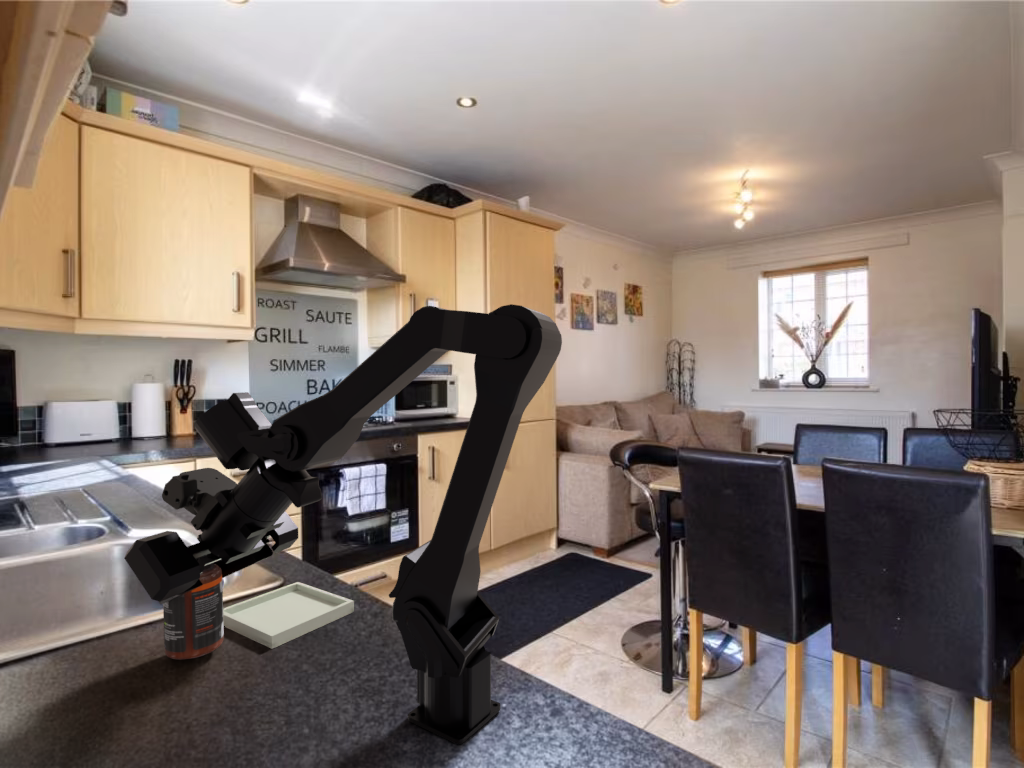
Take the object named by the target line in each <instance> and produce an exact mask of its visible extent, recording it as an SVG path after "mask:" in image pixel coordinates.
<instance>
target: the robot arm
mask: <svg viewBox="0 0 1024 768" xmlns="http://www.w3.org/2000/svg"><path fill="white" fill-rule="evenodd" d="M562 343H563V338H562V334H561V332H560V330H559V327H558V325H557V323H556V322H555V321H554V320H553V319H552V318H551V316H548V315H547V314H545V313H543V312H540V311H537V310H536V309H531V308H529V307H526V306H523V305H518V304H505V305H502V306H499V307H498V308H496V309H494V310H493V311H490V312H488V313H484V312H478V311H477V312H476V311H475V312H474V311H468V310H467V311H466V310H454V309H446V308H441V307H438V306H435V305H433V306H432V305H427V306H423V307H420V308H419V309H417V310H416V311H414V313H412V314H411V316H410V318H409V320H408V321H407V322H406V323H405V324H404V325H403V326H402V327H401V328H400V329H399V330H397V331H396V332H395V333H394V334H393V335H392V336H391V337H389V338H388V339H387V340H386V341H385V342H384V343H383V344H382V345H381V346H380V347H378V348H377V349H376V350H375V351H374V352H373V353H372V354H370V355H369V356H368V357H367V358H366V359H365V360H363V362H361V363H360V364H359V365H358V366H357V367H356V368H355V369H354V370H352V371H351V372H350V373H349V374H348V375H347V376H346V377H344V378H343V379H342V380H341V381H340V382H339V383H338V384H337V385H336V386H335V387H333V388H332V389H330V390H329V391H328V392H326V393H324V394H322V395H320V396H318V397H316V398H312V399H311V400H308V401H306V402H304V403H301V404H299V405H297V406H296V407H294V408H292V409H290V410H289V411H288V412H286V413H284V414H283V415H281V416H279V417H278V418H276V419H274V421H273V423H271V422H270V421H269V420H270V419H268V418H267V417H266V416H265V414H264V413H263V412H262V410H261V409H260V408H259V406H258V405H257V403H256V401H255V400H254V398H253V397H252V395H251V394H250V393H249V392H245V391H244V392H232V393H231V395H230V396H229V397H228V399H226V400H223V401H221V402H217V403H216V404H215V405H213V406H212V407H210V408H208V409H207V410H206V411H204V412H202V413H200V414H199V415H198V417H197V418H196V421H195V422H194V429H195V430H196V431H195V432H197V433H198V435H200V437H201V439H202V440H203V442H205V444H206V445H207V447H208V448H209V449H210V450H211V452H212V453H213V454H214V455H215V457H216V458H217V460H218V462H220V464H221V465H222V466H223V467H224V468H225V470H235V469H237V470H239V471H242V472H243V471H246V470H247V471H246V473H245V474H244V475H243V477H242V478H241V479H240V480H239V482H238V483H237V482H236V481H234V480H233V479H231V478H230V477H228V475H225V474H223V473H222V472H221V471H220V470H217V469H216V468H211V467H203V468H199V469H193V470H188V471H184V472H180V473H179V475H174V476H172V477H171V479H170V480H168V482H167V483H166V482H165V484H164V487H163V491H162V493H161V498H162V500H163V502H164V503H166V504H167V505H169V506H170V507H172V508H173V509H174V510H181V509H185V510H186V511H187V512H189V513H191V514H192V515H194V517H193V518H192V519H191V520H190V524H191V525H192V527H193V528H194V529H195V530H196V531H201V532H202V533H199V534H198V535H197V536H196V540H197V541H198V542H197V543H194V544H192V545H188V546H187V544H185V542H184V541H183V539H182V538H181V536H180V535H179V533H178V532H177V531H170V530H169V531H168V530H166V531H162V532H159V533H155V534H152V535H149V536H145V537H143V538H139V539H136V540H135V541H134V542H133V543H132V545H131V546H130V547H129V548H128V550H127V551H126V554H125V556H124V559H123V560H125V562H126V563H127V565H128V566H129V568H130V569H131V570H132V572H133V573H134V575H135V577H136V578H137V579H138V581H139V582H140V584H141V585H142V587H143V588H144V590H145V592H146V593H147V595H148V596H149V597H150V599H151V601H157V602H158V603H159V604H160V605H163V603H166V602H168V601H170V600H172V599H174V598H176V597H179V596H181V595H183V594H185V593H187V592H189V591H191V590H194V589H196V588H198V587H200V586H202V585H203V584H202V582H201V581H200V580H199V579H200V574H201V573H202V572H203V571H204V569H205V567H204V566H205V565H208V564H211V563H214V564H216V565H218V566H219V567H220V568H221V570H222V579H223V578H227V576H231V575H233V574H235V573H238V572H239V571H242V570H244V569H246V568H249V567H251V566H252V565H255V564H257V563H259V562H262V561H264V560H266V559H269V558H271V557H272V556H273V553H274V554H278V553H279V552H282V551H285V550H287V549H290V548H291V547H292V546H293V545H294V544H295V542H296V541H297V540H298V539H299V526H298V525H297V524H296V523H295V522H294V521H293V519H292V517H291V516H290V515H289V514H288V512H287V510H288V509H289V508H290V506H291V505H292V504H293V505H294V507H295V508H297V509H298V508H302V507H305V506H308V505H311V504H314V503H316V502H319V501H321V500H322V499H323V498H322V497H323V496H322V489H321V488H320V485H319V481H320V478H319V477H318V476H311V475H310V474H309V472H308V471H307V470H308V469H311V468H316V467H319V466H324V465H328V464H332V463H336V462H337V461H339V460H342V458H343V457H344V456H345V455H346V454H347V452H348V451H349V450H350V449H351V447H352V446H353V445H354V444H355V443H356V441H358V439H359V438H360V435H361V433H362V431H363V427H364V425H365V424H366V423H367V422H368V421H369V419H370V418H371V416H373V415H374V414H375V413H376V412H378V411H379V410H380V409H381V408H383V407H384V406H385V405H386V404H387V403H388V402H389V401H390V400H392V399H393V398H394V397H396V395H398V394H399V393H400V392H401V391H402V390H403V389H405V388H406V387H407V386H408V385H409V384H411V383H412V382H413V381H414V380H415V379H416V378H418V377H419V376H420V375H421V374H422V373H424V372H425V371H426V370H427V369H428V368H430V367H431V366H432V365H433V364H434V363H435V362H437V361H438V360H439V359H440V358H441V357H443V356H444V355H445V354H446V353H448V352H449V351H452V352H457V353H464V354H470V355H475V357H474V363H473V369H474V382H475V393H476V397H475V403H474V405H473V409H472V411H471V415H470V418H469V421H468V424H467V427H466V430H465V434H464V437H463V441H462V443H461V446H460V449H459V453H458V456H457V459H456V462H455V465H454V469H453V471H452V474H451V477H450V481H449V484H448V486H447V489H446V493H445V496H444V500H443V502H442V505H441V508H440V511H439V515H438V519H437V521H436V524H435V527H434V530H433V534H432V537H431V539H430V540H428V541H427V542H425V543H424V544H422V545H420V546H419V547H417V548H415V549H414V550H412V551H410V552H408V553H407V554H405V555H403V556H402V558H401V561H400V564H399V568H398V573H397V580H396V584H395V585H394V587H393V589H392V590H391V591H390V593H389V594H388V597H389V598H391V599H393V598H394V600H393V603H392V609H391V615H392V620H393V622H394V623H396V626H397V629H398V631H399V633H400V635H401V638H402V641H403V644H404V645H403V646H404V648H405V651H406V655H407V656H408V657H407V658H408V661H409V663H410V667H411V669H413V670H416V702H417V704H419V705H418V706H416V707H415V708H414V709H413V710H411V711H410V712H408V713H407V721H408V722H409V723H411V724H414V725H416V726H417V727H420V728H422V729H424V730H426V731H428V732H430V733H432V734H434V735H437V736H439V737H441V738H443V739H445V740H447V741H449V742H451V743H454V744H456V745H462V744H464V743H465V742H466V741H467V740H468V739H469V738H470V737H472V736H473V735H474V734H475V733H476V732H477V731H479V730H480V729H481V728H482V727H483V726H484V725H486V723H488V722H489V721H490V720H491V719H492V718H493V717H494V716H496V715H497V714H498V713H500V711H501V703H500V702H499V701H495V700H493V699H492V653H491V652H490V651H488V650H486V648H485V646H484V645H486V643H487V641H488V640H489V639H490V638H492V637H493V636H494V634H495V632H496V630H497V626H498V624H499V622H500V621H499V620H500V616H499V615H498V614H497V612H496V611H495V610H494V608H492V606H491V605H490V604H489V603H488V602H487V600H486V599H485V598H484V597H483V595H482V594H481V593H480V592H479V591H478V590H479V586H480V585H479V584H480V579H481V577H480V576H481V562H480V552H479V551H480V544H481V540H482V537H483V534H484V532H485V529H486V525H487V523H488V519H489V517H490V514H491V510H492V507H493V505H494V502H495V499H496V496H497V492H498V490H499V486H500V484H501V480H502V478H503V474H504V471H505V470H506V469H505V468H506V466H507V462H508V459H509V457H510V453H511V450H512V447H513V444H514V441H515V438H516V435H517V433H518V430H519V425H520V424H521V421H522V417H523V414H524V413H525V410H526V409H527V407H528V405H529V404H530V403H531V402H532V400H533V398H535V396H536V395H537V393H538V391H540V389H541V388H542V386H543V384H544V383H545V381H546V380H547V378H548V376H549V374H550V372H551V370H552V368H553V367H554V365H555V363H556V361H557V359H558V357H559V355H560V353H561V350H562V345H563V344H562ZM306 469H307V470H306ZM269 538H271V539H272V540H273V542H274V543H273V545H272V546H271V547H270V545H269V543H270V542H271V540H270V539H269Z"/></svg>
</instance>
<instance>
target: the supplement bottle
mask: <svg viewBox="0 0 1024 768" xmlns="http://www.w3.org/2000/svg"><path fill="white" fill-rule="evenodd" d="M204 567H205V569H204V571H203V572H202V573H201V574H200V579H199V580H200V581H201V582H202V584H203V585H202V586H200V587H198V588H196V589H194V590H191V591H189V592H187V593H185V594H183V595H181V596H179V597H176V598H174V599H172V600H170V601H168V602H166V603H163V604H162V606H163V607H162V611H163V612H162V613H163V639H164V641H163V644H164V653H165V655H166V657H168V658H170V659H173V660H183V661H184V660H190V659H197V658H200V657H203V656H206V655H208V654H210V653H212V652H213V651H215V650H217V649H218V648H219V647H221V645H222V643H223V642H224V639H225V638H224V637H225V636H224V635H225V633H224V630H225V629H224V628H225V627H224V624H223V608H224V598H223V597H224V591H223V578H222V570H221V568H220V567H219V566H218V565H216V564H214V563H211V564H208V565H205V566H204Z"/></svg>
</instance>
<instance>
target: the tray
mask: <svg viewBox="0 0 1024 768" xmlns="http://www.w3.org/2000/svg"><path fill="white" fill-rule="evenodd" d="M354 612H355V600H352V599H349V598H347V597H343V596H341V595H339V594H335V593H333V592H332V593H331V592H329V591H326V590H324V589H320V588H317V587H315V586H311V585H308V584H306V583H302V582H300V581H296V582H294V583H291V584H288V585H284V586H282V587H280V588H277V589H274V590H271V591H269V592H266V593H263V594H260V595H258V596H254V597H252V598H249V599H246V600H244V601H240V602H237V603H235V604H232V605H229V606H226V607H223V624H224V626H225V627H224V628H226V629H229V630H230V631H233V632H235V633H236V634H237V633H238V634H239V635H241V636H243V637H246V638H248V639H249V640H251V641H255V642H256V643H258V644H261V645H263V646H265V647H267V648H270V649H271V650H273V649H275V648H277V647H279V646H281V645H283V644H286V643H289V642H292V641H293V640H295V639H297V638H300V637H301V636H305V635H306V634H309V633H310V632H312V631H314V630H317V629H319V628H322V627H324V626H326V625H328V624H330V623H333V622H335V621H337V620H339V619H342V618H343V617H346V616H348V615H350V614H352V613H354Z"/></svg>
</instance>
